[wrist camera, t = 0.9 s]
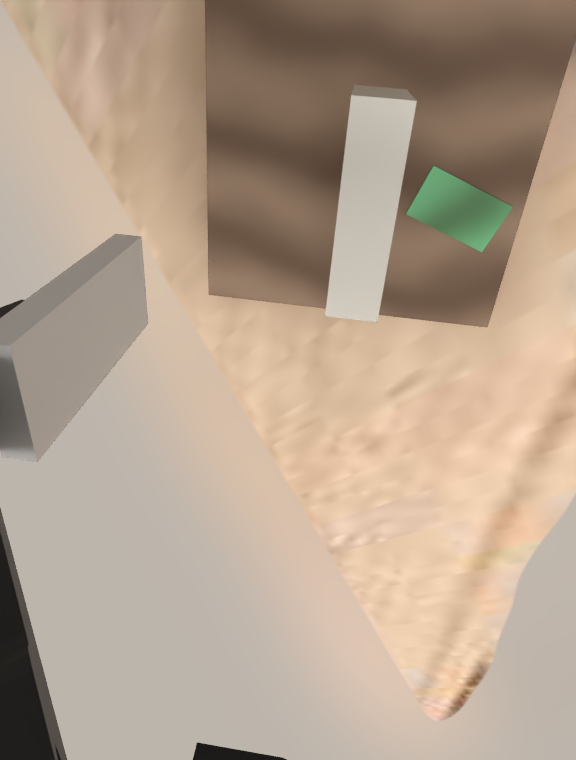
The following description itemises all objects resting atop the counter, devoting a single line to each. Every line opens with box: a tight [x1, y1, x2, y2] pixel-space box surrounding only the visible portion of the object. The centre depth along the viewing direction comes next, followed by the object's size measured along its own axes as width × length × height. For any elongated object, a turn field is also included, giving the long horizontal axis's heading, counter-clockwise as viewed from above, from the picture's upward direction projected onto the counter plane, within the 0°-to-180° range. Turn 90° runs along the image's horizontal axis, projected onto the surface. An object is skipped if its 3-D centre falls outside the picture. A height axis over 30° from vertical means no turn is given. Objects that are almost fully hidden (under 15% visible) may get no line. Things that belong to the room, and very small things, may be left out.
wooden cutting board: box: [205, 0, 576, 327], centre depth 33 cm, size 20×20×2 cm
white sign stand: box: [325, 85, 417, 322], centre depth 28 cm, size 14×2×12 cm, turn 176°
